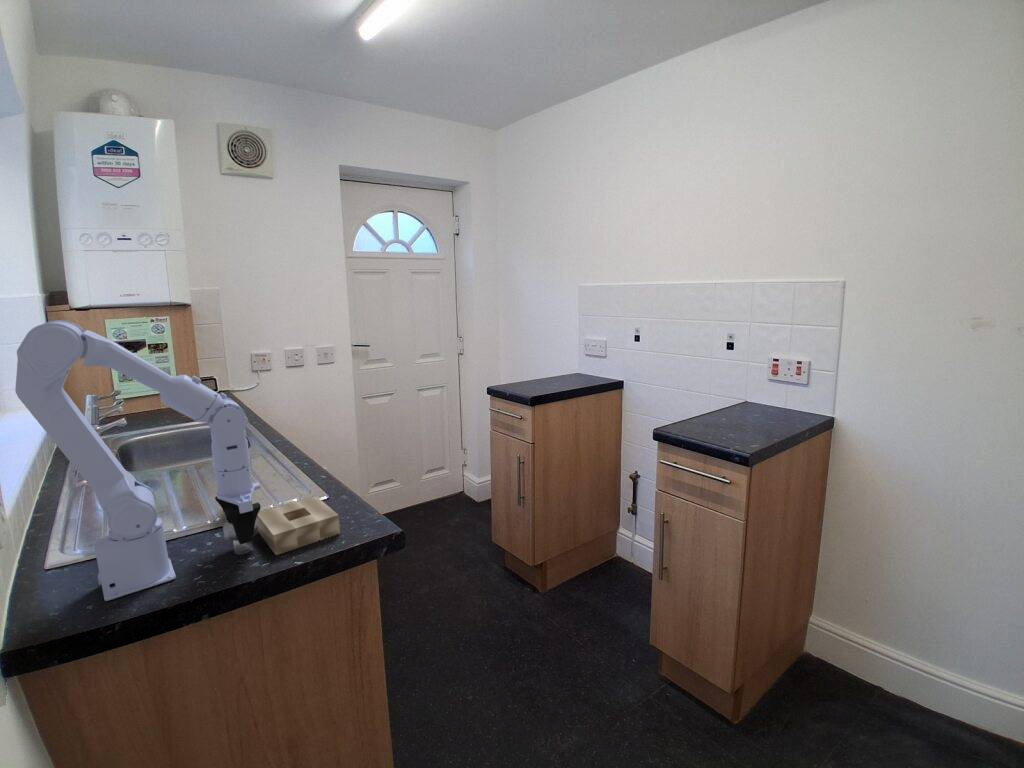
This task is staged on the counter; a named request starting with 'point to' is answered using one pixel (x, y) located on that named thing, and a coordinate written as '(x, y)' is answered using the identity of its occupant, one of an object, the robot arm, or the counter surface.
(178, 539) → the counter surface
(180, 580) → the counter surface
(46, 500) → the counter surface
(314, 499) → the block
